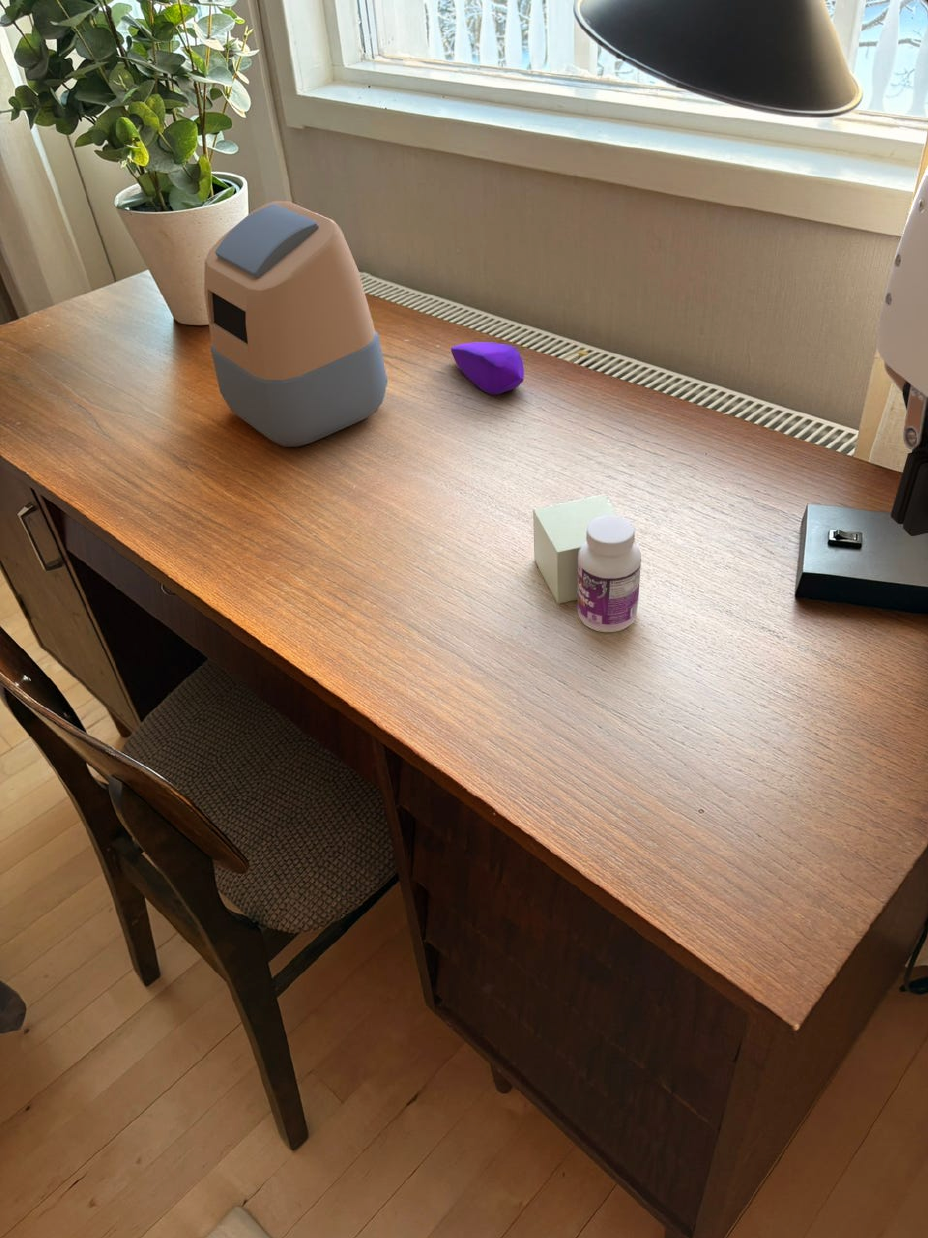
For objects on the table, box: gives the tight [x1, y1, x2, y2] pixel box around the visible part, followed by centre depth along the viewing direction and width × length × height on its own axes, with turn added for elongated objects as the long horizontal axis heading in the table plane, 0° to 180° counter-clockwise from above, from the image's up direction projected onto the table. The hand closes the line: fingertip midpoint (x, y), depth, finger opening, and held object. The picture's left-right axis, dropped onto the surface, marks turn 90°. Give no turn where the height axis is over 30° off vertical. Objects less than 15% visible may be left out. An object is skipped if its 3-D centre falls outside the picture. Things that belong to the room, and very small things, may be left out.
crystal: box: [450, 341, 525, 396], centre depth 118 cm, size 5×5×15 cm
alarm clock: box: [203, 200, 388, 447], centre depth 108 cm, size 17×17×23 cm
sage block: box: [532, 493, 619, 605], centre depth 87 cm, size 7×7×6 cm
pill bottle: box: [577, 515, 642, 633], centre depth 82 cm, size 5×5×10 cm
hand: (926, 521), depth 48 cm, fingers closed
